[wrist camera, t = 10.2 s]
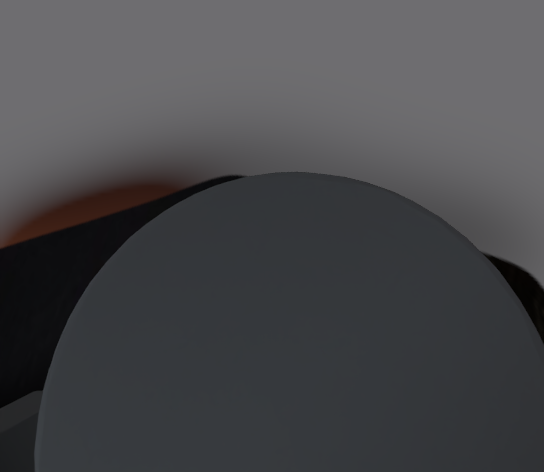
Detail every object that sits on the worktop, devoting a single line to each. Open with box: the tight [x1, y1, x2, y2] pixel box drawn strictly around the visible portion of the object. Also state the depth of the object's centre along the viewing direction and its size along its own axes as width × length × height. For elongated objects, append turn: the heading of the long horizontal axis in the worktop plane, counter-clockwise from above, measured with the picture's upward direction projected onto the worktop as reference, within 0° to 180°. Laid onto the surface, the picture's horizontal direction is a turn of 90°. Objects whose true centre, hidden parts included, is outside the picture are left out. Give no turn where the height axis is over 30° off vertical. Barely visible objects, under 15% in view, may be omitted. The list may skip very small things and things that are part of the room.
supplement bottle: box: [34, 172, 544, 472], centre depth 9 cm, size 7×7×13 cm
